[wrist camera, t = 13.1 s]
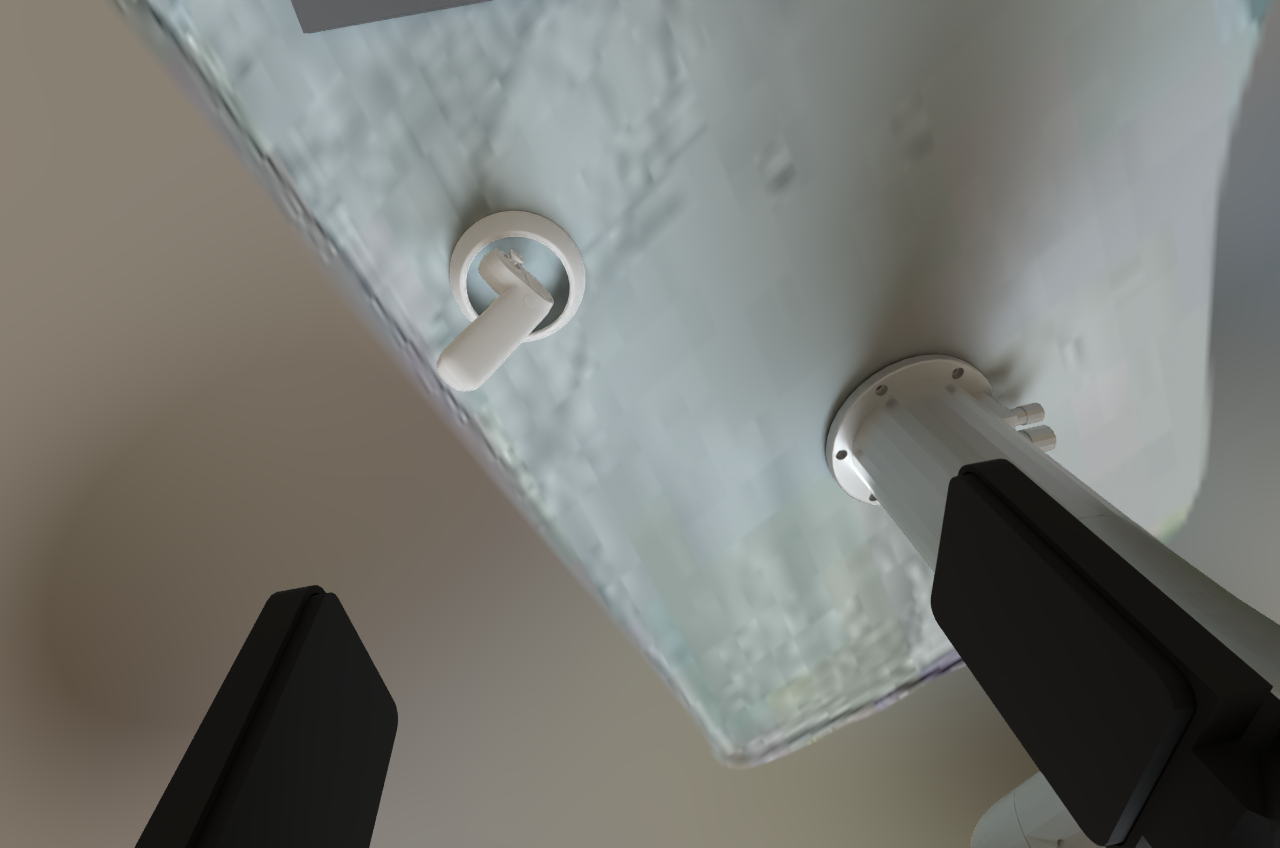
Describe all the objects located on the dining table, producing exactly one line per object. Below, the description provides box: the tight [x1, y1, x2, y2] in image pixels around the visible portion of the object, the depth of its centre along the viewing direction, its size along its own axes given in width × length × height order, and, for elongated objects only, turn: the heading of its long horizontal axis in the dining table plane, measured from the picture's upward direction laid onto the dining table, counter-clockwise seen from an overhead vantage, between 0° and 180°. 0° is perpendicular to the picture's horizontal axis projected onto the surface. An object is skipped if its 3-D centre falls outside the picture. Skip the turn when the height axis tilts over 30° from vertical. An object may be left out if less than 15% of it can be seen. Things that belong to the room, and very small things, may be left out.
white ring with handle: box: [437, 211, 586, 392], centre depth 33 cm, size 8×12×7 cm
